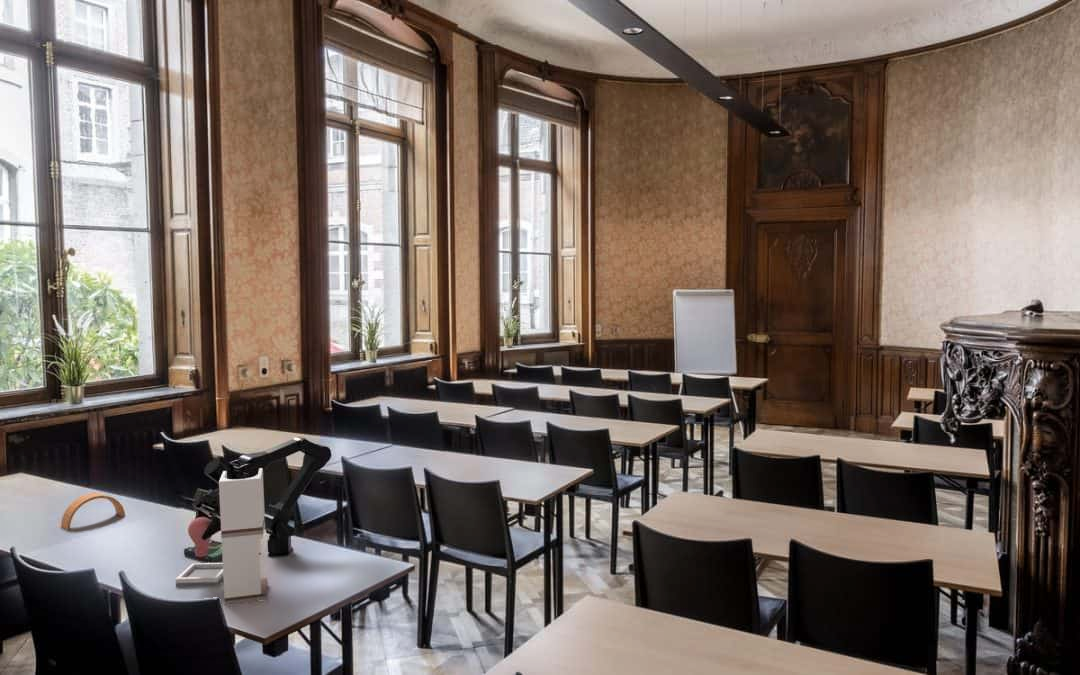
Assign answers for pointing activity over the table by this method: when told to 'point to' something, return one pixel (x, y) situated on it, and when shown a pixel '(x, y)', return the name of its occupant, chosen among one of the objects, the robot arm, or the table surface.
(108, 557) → the table surface
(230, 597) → the tall white pillar
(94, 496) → the arch
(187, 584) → the white square frame
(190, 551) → the disk drive
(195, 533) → the light bulb
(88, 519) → the table surface
